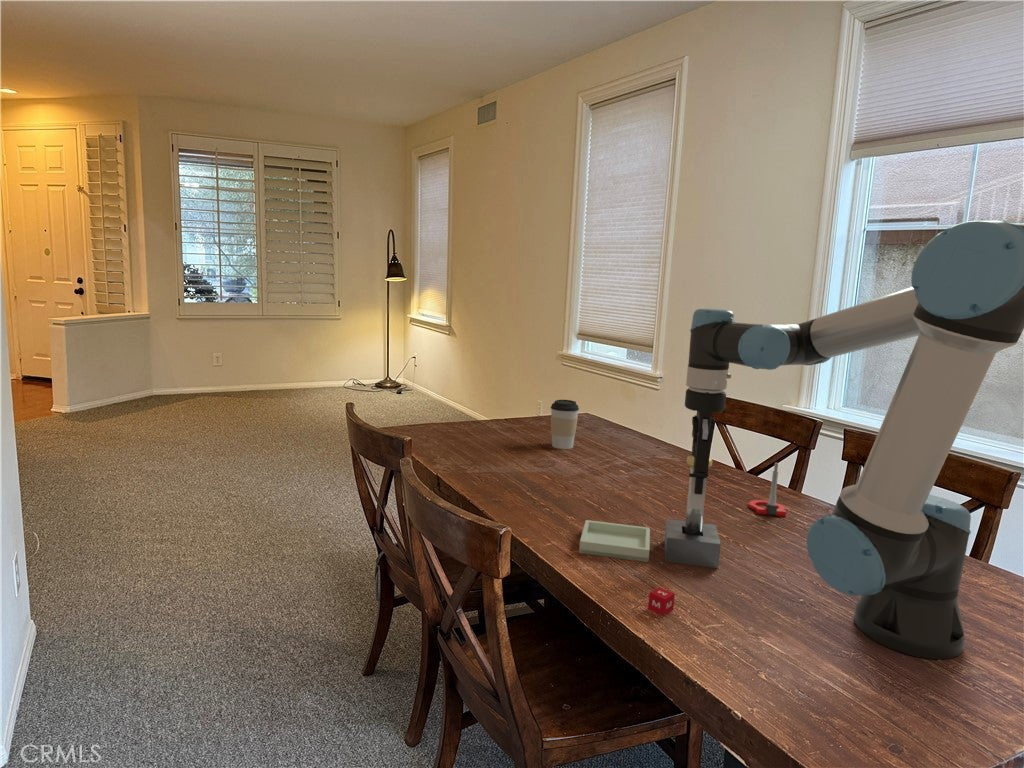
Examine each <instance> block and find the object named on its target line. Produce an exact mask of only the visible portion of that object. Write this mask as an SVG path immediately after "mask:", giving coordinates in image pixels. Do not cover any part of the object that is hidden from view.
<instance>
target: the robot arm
mask: <svg viewBox="0 0 1024 768" xmlns="http://www.w3.org/2000/svg"><path fill="white" fill-rule="evenodd" d="M910 279H911V281H910V282H911V287H909V288H906V289H903V290H900V291H897V292H892V293H890V294H887V295H884V296H880V297H878V298H875V299H871V300H868V301H865V302H862V303H859V304H856V305H854V306H850V307H848V308H843V309H841V310H838V311H835V312H831V313H829V314H825V315H822V316H819V317H817V318H813V319H811V320H806V321H804V322H800V323H795V324H791V323H790V324H789V323H788V324H787V323H786V324H784V323H783V324H781V323H779V324H778V323H776V324H775V323H762V324H761V323H760V324H759V323H743V322H736V321H735V319H734V317H735V314H734V312H733V311H732V310H729V309H728V310H727V309H719V308H716V309H715V308H698V309H696V310H694V312H693V314H692V320H691V328H690V331H689V332H690V338H689V339H690V340H689V350H688V364H687V371H686V373H687V374H686V383H685V385H686V387H688V388H687V389H685V396H684V397H685V398H684V407H685V408H686V409H688V410H690V411H694V412H696V415H694V416H692V418H691V424H692V432H691V436H692V444H691V445H692V446H691V455H695V456H694V468H693V473H692V474H691V473H690V472H689V473H688V477H689V478H690V477H692V479H691V490H690V501H689V508H691V509H700V510H703V509H705V500H704V498H705V499H706V489H705V488H706V487H707V478H708V477H709V468H710V467H709V457H710V458H711V445H712V441H713V434H714V430H715V420H714V418H713V417H712V414H713V413H721V412H723V411H725V409H726V402H727V393H726V392H725V391H724V390H726V389H727V387H728V380H729V379H731V378H732V375H731V373H729V369H730V364H735V365H740V366H744V367H749V368H752V369H753V370H768V371H772V370H776V369H778V368H779V367H781V366H782V367H783V366H797V365H798V366H799V365H803V366H813V365H815V366H816V365H819V364H824V363H826V362H828V361H829V360H831V358H834V357H838V356H842V355H846V354H850V353H854V352H857V351H858V352H859V351H861V350H867V349H869V348H875V347H878V346H882V345H886V344H891V343H894V342H898V341H902V340H907V339H910V338H913V337H914V338H915V337H917V339H916V342H915V344H914V346H913V349H912V351H911V354H910V356H909V359H908V361H907V363H906V366H905V368H904V370H903V373H902V375H901V378H900V380H899V383H898V385H897V387H896V390H895V392H894V394H893V397H892V400H891V401H890V404H889V406H888V409H887V411H886V413H885V416H884V418H883V421H882V423H881V425H880V428H879V430H878V433H877V435H876V437H875V440H874V442H873V444H872V447H871V450H870V452H869V455H868V456H867V460H866V461H865V463H864V466H863V467H862V468H863V469H862V470H861V474H860V476H859V478H858V481H857V483H856V484H852V485H848V486H845V487H844V488H842V489H841V491H840V493H839V496H838V498H837V501H836V503H835V504H834V507H833V510H832V512H831V514H827V515H823V516H821V517H819V518H818V519H816V520H815V521H814V522H813V523H812V524H811V525H810V527H809V529H808V531H807V536H806V549H807V553H808V557H809V559H810V560H811V561H812V566H813V569H814V570H815V571H816V573H817V574H818V576H819V577H820V578H821V579H822V580H823V582H824V583H826V584H827V585H828V586H830V587H831V588H832V589H834V590H835V591H837V592H838V593H841V594H843V595H845V596H851V597H859V596H860V597H859V600H857V603H856V605H855V609H854V610H855V611H854V616H853V619H854V624H855V625H856V626H857V628H858V629H859V630H860V631H861V632H862V633H864V634H865V635H866V636H867V637H868V638H870V639H871V640H874V641H875V642H877V643H879V644H881V646H882V645H883V646H884V647H887V648H889V649H892V650H894V651H897V652H899V653H903V654H906V655H910V656H912V657H913V656H914V657H918V658H923V659H931V660H948V659H952V658H957V657H958V656H959V655H961V654H962V653H963V648H964V644H965V631H964V625H963V622H962V617H961V616H962V615H961V612H960V607H959V603H958V598H959V591H960V585H961V580H962V574H963V569H964V563H965V558H966V553H967V549H968V548H967V547H968V542H969V537H970V535H971V532H972V530H971V529H970V528H971V520H972V519H971V518H972V517H971V513H970V510H968V508H966V507H964V505H962V504H960V503H957V502H955V501H952V500H950V499H948V498H947V499H946V498H944V497H940V496H937V495H934V494H930V493H931V491H932V490H933V487H934V485H935V483H936V481H937V479H938V477H939V474H940V472H941V470H942V468H943V466H944V464H945V461H946V460H947V457H948V455H949V453H950V451H951V449H952V447H953V444H954V443H955V441H956V439H957V437H958V434H959V432H960V430H961V427H962V425H963V424H964V421H965V419H966V417H967V415H968V413H969V412H970V411H969V410H971V406H972V405H973V402H974V400H975V399H976V396H977V394H978V392H979V389H980V387H982V386H981V385H982V383H983V381H984V379H985V377H986V375H987V373H988V371H989V368H990V366H991V365H992V362H993V360H994V357H995V356H996V354H997V353H999V352H1000V351H1002V350H1005V349H1008V348H1010V347H1013V346H1016V345H1017V343H1018V342H1019V339H1020V337H1021V336H1022V334H1023V332H1024V224H1021V223H1016V222H1015V223H1014V222H1010V221H1009V222H1008V221H1006V220H994V219H987V220H971V221H965V222H960V223H958V224H954V225H952V226H950V227H948V228H946V229H945V230H943V231H940V232H939V233H937V234H936V235H935V236H934V237H932V238H931V239H930V240H929V241H928V242H927V243H926V244H925V246H923V248H922V249H921V250H920V252H919V254H918V255H917V257H916V259H915V261H914V264H913V267H912V271H911V278H910ZM727 379H728V380H727ZM708 467H709V468H708ZM703 511H704V510H703Z"/></svg>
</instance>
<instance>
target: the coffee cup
mask: <svg viewBox="0 0 1024 768" xmlns="http://www.w3.org/2000/svg"><path fill="white" fill-rule="evenodd" d="M550 410H551V411H550V412H551V414H550V427H551V430H550V432H551V446H552V447H553V448H555V449H558V450H570V449H573V448H574V443H575V437H576V436H575V435H576V430H577V425H578V418H579V416H578V415H579V410H580V407H579V405H578V404H577V401H575V400H571V399H556V400H555V401H554V402H553V403H552V404H551V406H550Z"/></svg>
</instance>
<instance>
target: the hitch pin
mask: <svg viewBox="0 0 1024 768" xmlns="http://www.w3.org/2000/svg"><path fill="white" fill-rule="evenodd" d="M694 456H695V455H692V454H689V455H687V457H686V465H688V466H690V468H689V469H690V470H689V473H691V474H692V473H693V468H694ZM712 467H713V459H712V458H711V456H710V457H709V467H708V469H709V468H712ZM688 479H689V481H688V482H689V483H688V492H687V493H688V494H687V500H686V501H687V503H686V512H685V513H686V514H685V515H686V517H685V521H686V524H685V534H690V535H698V536H701V532H702V523H703V521H704V520H703V519H704V509H705V508H704V509H703V510H700V509H691V508H689V501H690V490H691V479H692V477H689V478H688ZM705 490H706V488H705ZM705 499H706V497H705V498H704V501H705Z"/></svg>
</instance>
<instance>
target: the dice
mask: <svg viewBox="0 0 1024 768" xmlns="http://www.w3.org/2000/svg"><path fill="white" fill-rule="evenodd" d="M675 597H676V596H675V592H673V591H671V590H670V591H669V590H667V589H665V588H663V587H660V586H659V587H657V588H655V589H653V590H651V591H649V596H648V606H647V607H648V608H647V609H648V610H651V611H653V612H655V613H656V614H659V615H661V616H665V615H667V614H668V613H670V612H672V611H673V610H674V605H675Z"/></svg>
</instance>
